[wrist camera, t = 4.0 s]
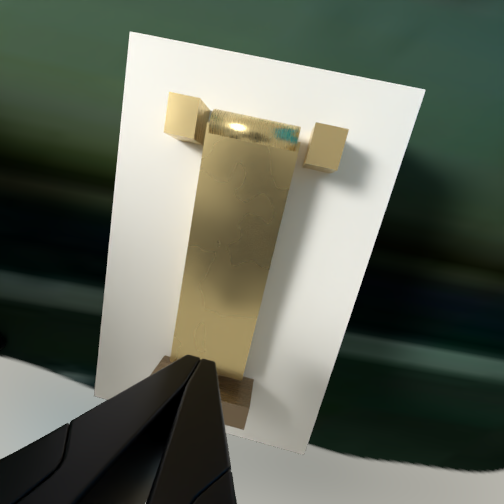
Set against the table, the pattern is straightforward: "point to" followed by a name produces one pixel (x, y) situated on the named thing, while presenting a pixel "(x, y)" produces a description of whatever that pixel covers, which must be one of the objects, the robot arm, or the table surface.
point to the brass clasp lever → (233, 236)
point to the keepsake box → (290, 233)
